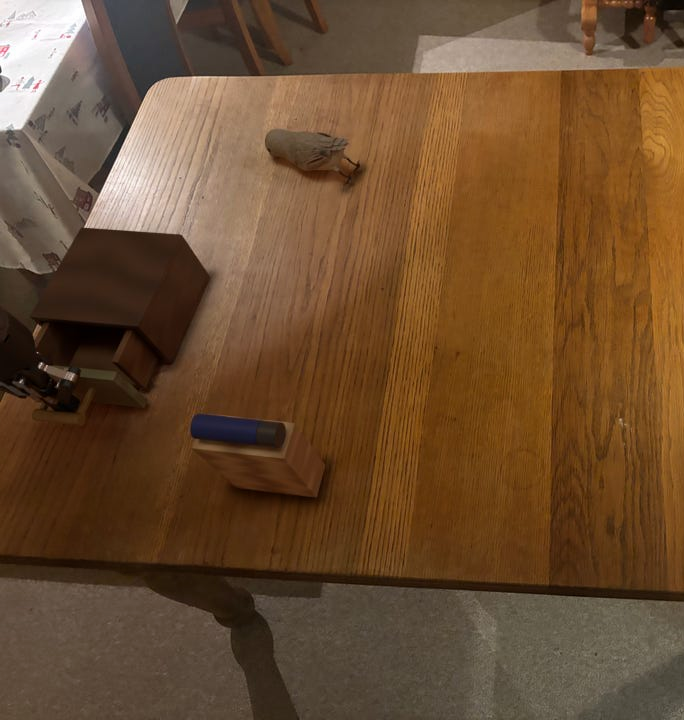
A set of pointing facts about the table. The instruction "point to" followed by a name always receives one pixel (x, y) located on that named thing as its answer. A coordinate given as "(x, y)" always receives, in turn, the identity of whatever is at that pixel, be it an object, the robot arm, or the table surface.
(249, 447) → the wooden block
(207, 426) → the blue cylinder
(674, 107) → the table surface
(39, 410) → the drawer
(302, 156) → the decorative bird
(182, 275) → the cabinet
